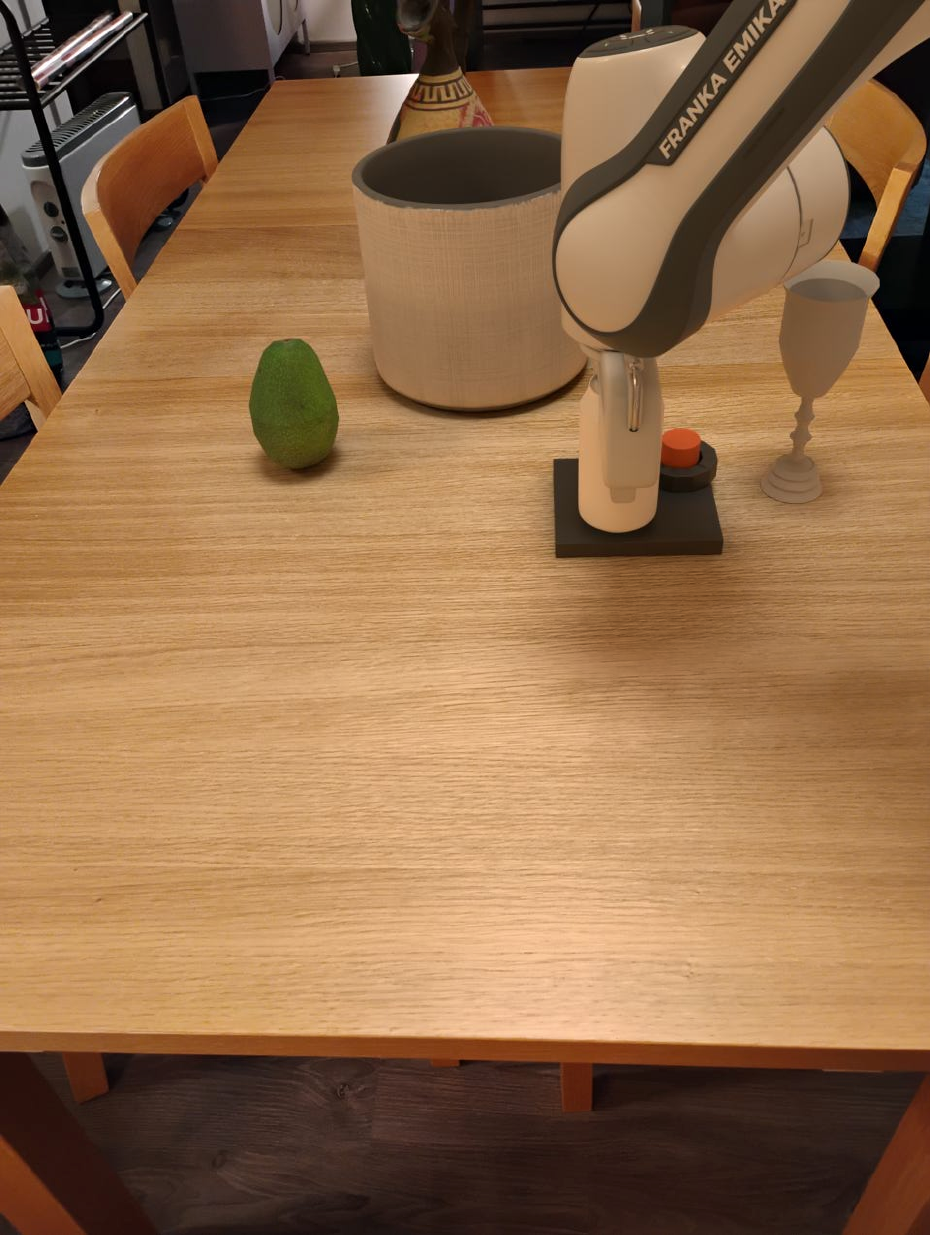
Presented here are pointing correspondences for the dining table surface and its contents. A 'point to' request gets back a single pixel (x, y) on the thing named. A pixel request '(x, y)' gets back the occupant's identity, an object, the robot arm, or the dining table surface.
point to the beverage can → (591, 483)
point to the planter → (465, 266)
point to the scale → (674, 529)
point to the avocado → (293, 405)
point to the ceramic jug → (438, 70)
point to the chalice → (816, 358)
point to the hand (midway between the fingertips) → (618, 468)
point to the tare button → (680, 448)
